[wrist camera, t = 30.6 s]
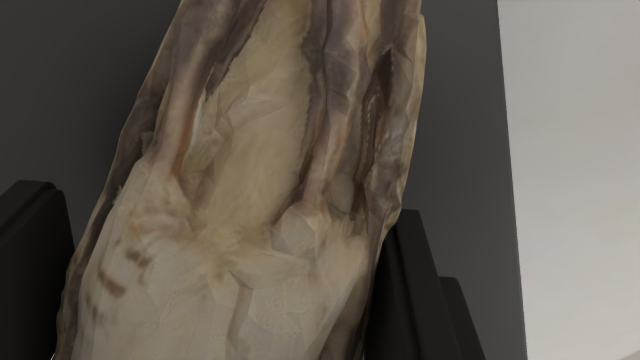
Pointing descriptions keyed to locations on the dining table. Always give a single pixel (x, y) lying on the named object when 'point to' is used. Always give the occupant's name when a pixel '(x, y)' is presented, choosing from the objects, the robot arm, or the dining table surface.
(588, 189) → the dining table surface
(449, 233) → the dark grey box
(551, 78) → the dining table surface
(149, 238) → the bird model
